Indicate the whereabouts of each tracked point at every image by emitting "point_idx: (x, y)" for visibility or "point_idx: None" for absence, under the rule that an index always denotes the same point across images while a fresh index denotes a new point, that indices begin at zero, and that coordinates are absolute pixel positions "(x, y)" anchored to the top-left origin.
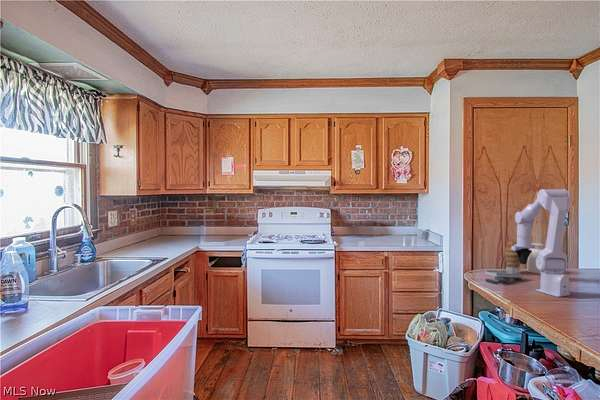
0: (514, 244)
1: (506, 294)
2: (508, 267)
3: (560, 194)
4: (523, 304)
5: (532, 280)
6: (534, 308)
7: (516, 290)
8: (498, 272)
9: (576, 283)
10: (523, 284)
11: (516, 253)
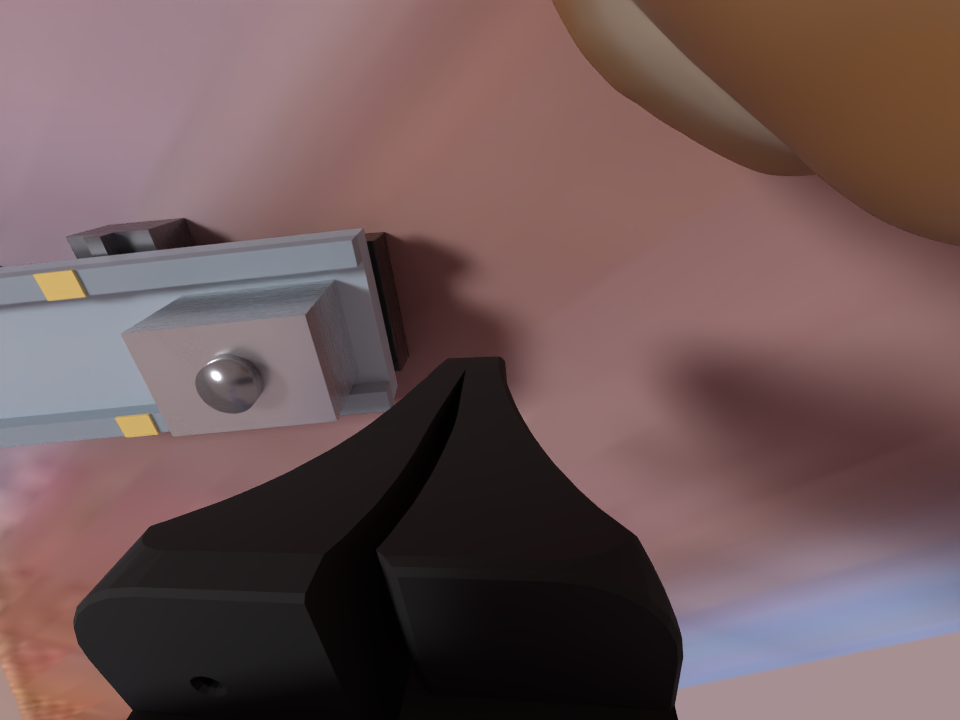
0: None
1: (20, 551)
2: (143, 372)
3: None
4: (43, 651)
5: (527, 390)
6: (70, 684)
7: (135, 526)
8: (42, 307)
9: (838, 576)
10: (305, 451)
11: (706, 90)
